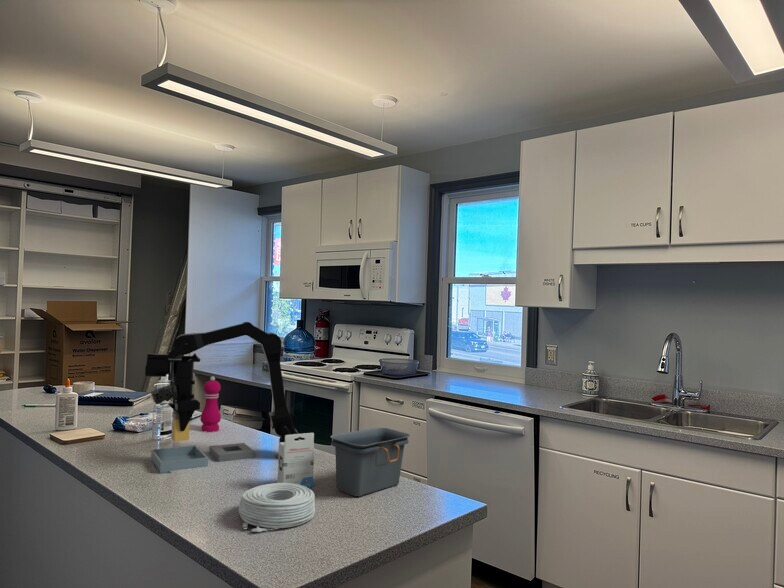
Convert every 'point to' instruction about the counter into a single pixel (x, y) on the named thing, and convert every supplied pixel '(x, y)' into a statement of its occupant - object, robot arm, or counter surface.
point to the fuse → (176, 432)
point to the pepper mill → (211, 406)
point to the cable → (276, 506)
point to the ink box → (296, 460)
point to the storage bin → (368, 459)
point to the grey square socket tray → (231, 452)
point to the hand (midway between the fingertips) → (180, 429)
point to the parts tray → (178, 458)
